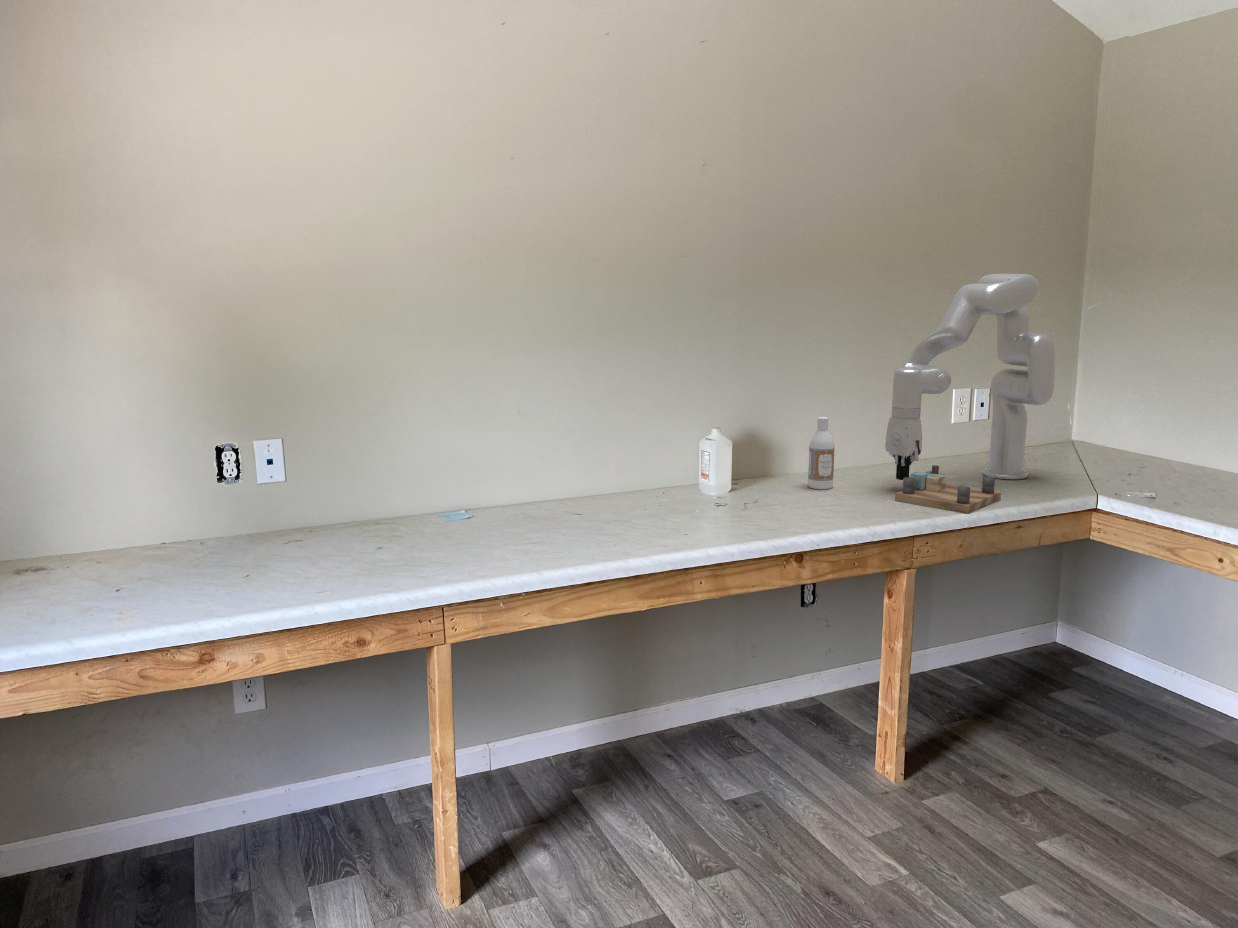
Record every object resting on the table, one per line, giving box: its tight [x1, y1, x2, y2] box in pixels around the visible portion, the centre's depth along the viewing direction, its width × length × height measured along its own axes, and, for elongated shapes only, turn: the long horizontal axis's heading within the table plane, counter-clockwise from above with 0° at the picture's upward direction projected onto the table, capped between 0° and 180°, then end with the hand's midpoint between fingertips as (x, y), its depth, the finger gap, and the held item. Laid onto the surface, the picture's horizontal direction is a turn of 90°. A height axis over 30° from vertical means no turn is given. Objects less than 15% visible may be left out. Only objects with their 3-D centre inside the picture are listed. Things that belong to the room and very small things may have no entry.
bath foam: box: [807, 416, 835, 490], centre depth 258 cm, size 7×7×20 cm
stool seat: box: [894, 464, 1002, 514], centre depth 243 cm, size 20×20×7 cm
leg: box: [910, 470, 946, 490], centre depth 250 cm, size 12×4×4 cm, turn 134°
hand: (902, 479), depth 253 cm, fingers closed
